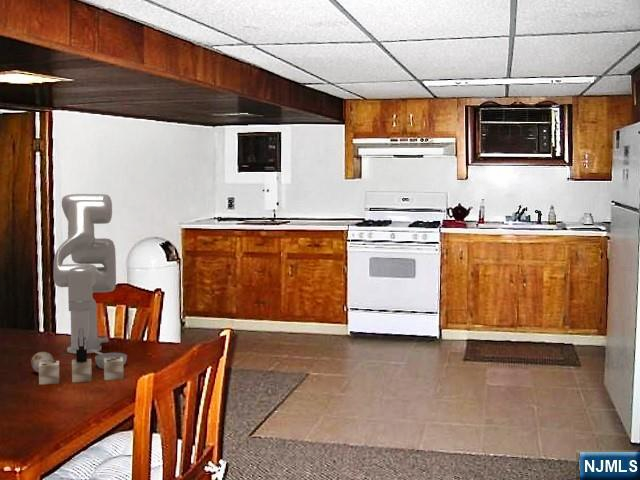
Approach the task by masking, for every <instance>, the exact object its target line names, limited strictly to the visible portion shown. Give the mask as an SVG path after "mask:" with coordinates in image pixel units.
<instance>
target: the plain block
mask: <svg viewBox="0 0 640 480" xmlns="http://www.w3.org/2000/svg"><path fill="white" fill-rule="evenodd" d="M92 371H93V370H92V358H87V361H86V362H77V360H76V359H72V360H71V382H72V383H84V382H86V383H87V382H92V380H93V379H92V378H93V377H92Z"/></svg>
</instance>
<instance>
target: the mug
mask: <svg viewBox="0 0 640 480" xmlns="http://www.w3.org/2000/svg"><path fill="white" fill-rule="evenodd" d="M46 361H55V360H54V356H53V355H52V354H51V353H49V352H47V351H39V352H37V353H35V354H34V355H33V356H32V358H31V361H30V364H31V367H32V369H33V371H35V372H36V373H38V374H39V363H40V362H46ZM59 374H60V372H59Z"/></svg>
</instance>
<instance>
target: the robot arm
mask: <svg viewBox="0 0 640 480" xmlns="http://www.w3.org/2000/svg"><path fill="white" fill-rule="evenodd" d="M61 208H62V211H63V213H64V216H65V218H66V220H67V222H68V223H67V239H66V240H65V241H63V242H62V244H61V245H60V246H59V247H58V248H57V250H56V252H55V254H54V258H53V276H52V277H53V282H54V284H55V285H56V287H59V288H68V289H67V293H68V294H67V295H68V296H67V297H68V299H67V301H68V302H67V303H68V312H70V343H71V344H70V346H68V347H67V348H66V352H67V353H69V354H73V355H75V356H76V358H75V360H77V362H86V361H87V359H88V354H94V352H92V351H91V350H96V351H98V352H100V351H102V347H103V346H102V343H103V344H104V343H108V342H109V337H99V336H98V305H97V302H96V300H95V299H94V298H93V294H94V293H109V292H113V291H114V290H115V288H116V285H117V265H116V263H117V262H116V261H117V260H116V259H117V258H116V255H117V253H116V246H115V243H114V241H113V240H112V239H110V238H104V237H103V238H101V237H100V238H99V237H98V238H95V225H99V224H100V225H102V224H103V225H105V224H106V225H107V224H109V223H110V222H111V220H112V218H113V202H112V198H111V196H110V195H108V194H105V193H103V194H102V193H99V194H98V193H97V194H96V193H94V194H93V193H75V194H74V193H72V194H65V196H63V197H62V199H61ZM69 256H71V260H72V261H73V263H74V264H68V263H67V264H63V262H64V260H65V259H66V258H67V257H69ZM96 264H97V265H99V264H100V265H102V266H96Z"/></svg>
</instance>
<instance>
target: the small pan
mask: <svg viewBox="0 0 640 480" xmlns="http://www.w3.org/2000/svg"><path fill="white" fill-rule="evenodd" d="M91 351H92V352H94V353H95V354H97V355H95V356H94V361H95V363H96V365H97V367H98V368H99V369H103V370H104V358H113V357H123V367H124V366H125V365H126V362H127V359H128V355H127V354H125V353H122V352H108V353H107V352H106V353H102V352H100V351H96V350H91ZM94 353H93V354H94Z"/></svg>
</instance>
